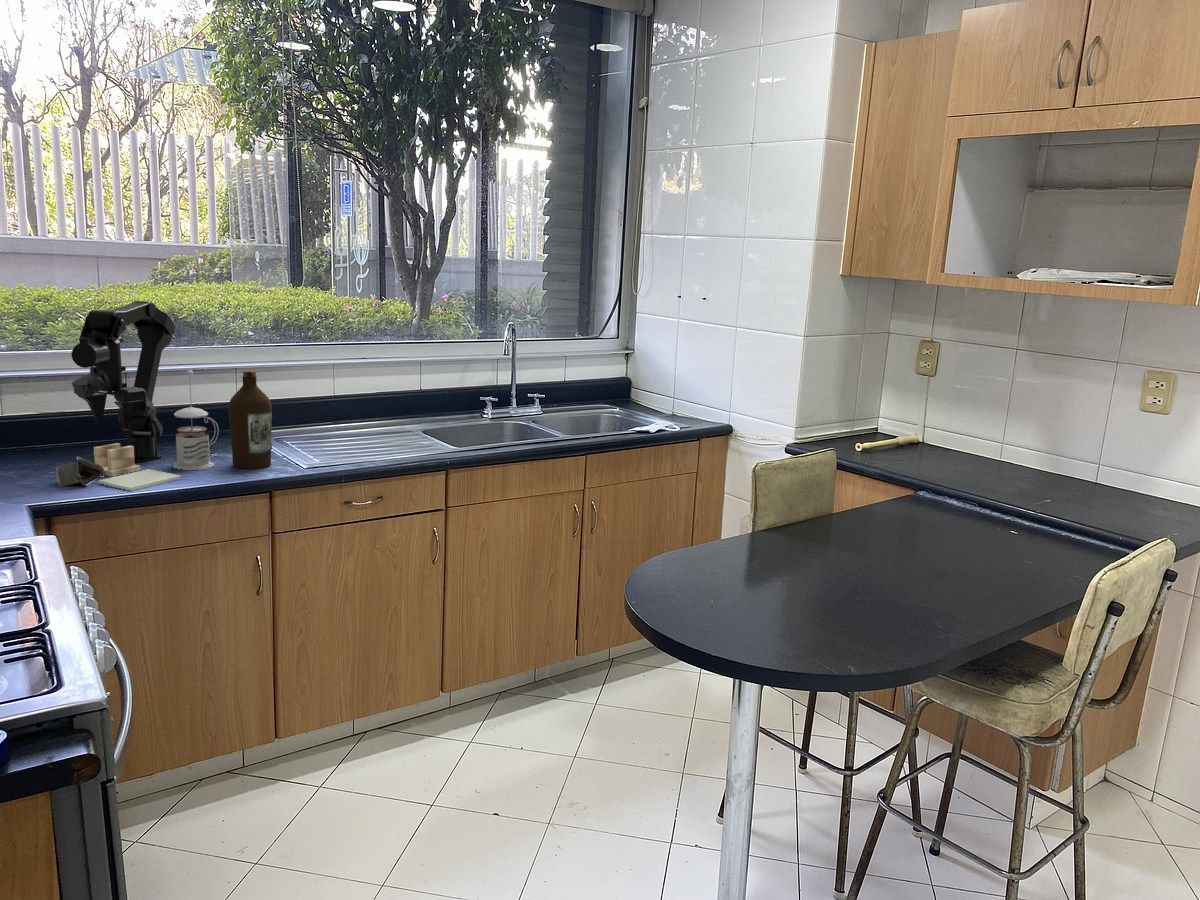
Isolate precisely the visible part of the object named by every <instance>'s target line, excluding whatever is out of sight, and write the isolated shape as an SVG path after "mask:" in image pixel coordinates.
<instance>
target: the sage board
mask: <svg viewBox="0 0 1200 900" xmlns="http://www.w3.org/2000/svg"><path fill="white" fill-rule="evenodd" d="M179 480H182V475H179V474H175V473H170V472H164V471H160V470H155V469H151V468H147V469H142V470H141V471H137V472H132V473H128V474H123V475H119V476H114V477H109V478H103V479H98V480H97V484H98V483H99V484H98V485H101V484H104V485H103V486H106V485H108V486H107V487H110V486H113V487H112V488H115V487H116V488H115V489H119V488H121V489H120V490H124V489H125V491H128V490H130V491H129V492H132V490H133V491H136V489H137V490H140V488H141V489H145V488H149V487H154V486H157V485H158V486H159V485H162V484H165V483H169V482H170V483H171V482H174V481H179Z"/></svg>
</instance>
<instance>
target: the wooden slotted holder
mask: <svg viewBox="0 0 1200 900" xmlns="http://www.w3.org/2000/svg"><path fill="white" fill-rule="evenodd" d="M93 456H94V463H95V464H97V465H98V464H99V465H101V466H102V467H103V469H104V471H105V475H108V476H107V477H110V476H114V477H116V476H117V475H119V476H120V474H123V475H125V473H128V474H129V473H130V472H132V473H134V471H137V472H138V470H141V465H139V464H135V461H136V460H134V446H127V445H126V446H121V443H119V442H115V443H114V442H113V443H111V444H110V443H109V444H104V445H99V446H93ZM141 471H142V470H141Z"/></svg>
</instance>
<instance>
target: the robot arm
mask: <svg viewBox="0 0 1200 900" xmlns="http://www.w3.org/2000/svg"><path fill="white" fill-rule="evenodd" d="M131 324H132V325H133V326H134V328H135V329H136V330H137V333H136V334H137V337H138V339H139V342H140V344H141V347H140V348H141V350H140V354H139V357H138V358H139V359H138V364H137V368H136V372H135V380H134V382H133V386H129V387H128V385H127V382H123V372H125V371H127V366H126V365H125V366H124V365H122V351H121V343H124V339H123V337H121V334H123V333H124V332H125V331H126V330H127V326H128V325H131ZM175 328H176V327H175V323H174V322H173V320H172V319H171V317H170V316H169V314H168V313H165V312H164V311H163V310H161V309H159V308H158V307H157V306H156V305H155V303H154V302H151V301H143V300H141V301H140V300H135V301H132V302H130V303H129V304H126V305H123V306H119V307H117V308H113V309H112V310H111V309H92V310H90V311H89V312H88V314H87V315H86V318H85V320H84V324H83V326H82V330H81V332H80V335H79V339H78V342H79V343H77V344H76V345H74V346H73V349H72V350H71V359H72V360H73V362H74V364H76V365H77V366H78V367H80V368H85V369H88V368H89V374H86V375H83V376H81V377H79V378H77V379H75V380H73V381H72V382H71V385H72V386H71V387H72V388H73V393H74V395H76V396H77V397H78V398H80V399H81V400H84V401H85V402H86V403H87V405H88V406H89V408H90V411H91V413H92V415H93V418H94V420H95V422H96V423H97V424H102V423H103V419H104V413H105V409H106V402H107V397H108V396H107V395H110V396H113V397H114V400H115V401H113V402H114V404H115V405H116V406H117V407H118V409H119V412H118V417H117V424H118V426H119V432H120V434H121V437H127V442H126V446H134V461H137V462H145V461H146V462H147V461H151V460H155V459H160V458H162V457H163V456H162V454H161V455H160V454H158V441H157V440H158V439H157V438H160V437H162V435H163V428H164V427H163V424H162V423H161V422H160V421H159V419H158V418H157V414H158V412H157V409H156V408H155V405H154V403H153V397H154V393H155V388H156V383H157V376H158V372H159V367H160V362H161V356H162V354H163V353H162V352H163V350H164V349H165V348H166V347H168V346H169V344H171V342H172V338H173V335H174V333H175V330H176V329H175Z"/></svg>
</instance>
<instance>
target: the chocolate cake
mask: <svg viewBox="0 0 1200 900" xmlns="http://www.w3.org/2000/svg"><path fill="white" fill-rule="evenodd" d="M75 457H76V460H75V461H74V462H69V463H66V464H61V465H58V466H56V468H55V469H56V473H55V477H56V480H57V483H58V486H59V487H67V486H72V485H75V484H79V483H80V484H81V485H82V486H84V487H86V486H85V485H86V484H88V483H89V482H91V481H93V480H95V479H96V478H98V477H100V476H105V471H104V469H103V467H102V466H101V465H99V464H98V465H97V464H95V462H93V461H91V460H89V459H86V458H83V457H80V456H78V455H77V456H75ZM80 476H84V477H80ZM105 477H106V476H105ZM100 478H101V477H100Z"/></svg>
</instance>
